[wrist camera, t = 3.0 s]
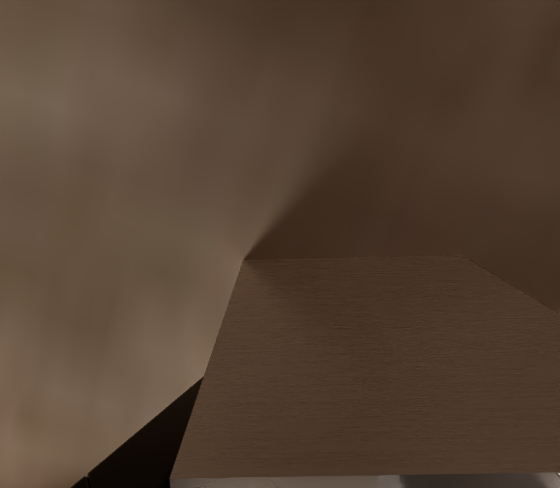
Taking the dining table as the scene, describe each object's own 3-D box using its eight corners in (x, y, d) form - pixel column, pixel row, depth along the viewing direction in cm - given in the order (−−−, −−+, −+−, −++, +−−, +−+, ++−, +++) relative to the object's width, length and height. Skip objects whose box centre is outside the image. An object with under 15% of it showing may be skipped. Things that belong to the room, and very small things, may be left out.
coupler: (460, 254, 9) (945, 546, 2) (442, 438, 10) (729, 955, 4) (243, 259, 9) (141, 557, 2) (252, 441, 10) (201, 957, 4)
